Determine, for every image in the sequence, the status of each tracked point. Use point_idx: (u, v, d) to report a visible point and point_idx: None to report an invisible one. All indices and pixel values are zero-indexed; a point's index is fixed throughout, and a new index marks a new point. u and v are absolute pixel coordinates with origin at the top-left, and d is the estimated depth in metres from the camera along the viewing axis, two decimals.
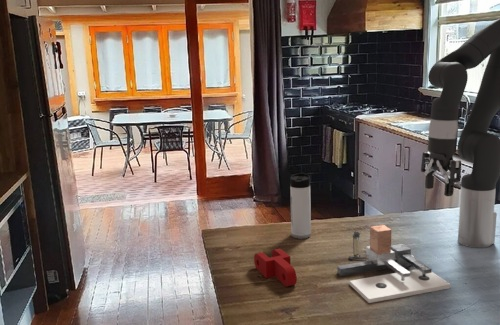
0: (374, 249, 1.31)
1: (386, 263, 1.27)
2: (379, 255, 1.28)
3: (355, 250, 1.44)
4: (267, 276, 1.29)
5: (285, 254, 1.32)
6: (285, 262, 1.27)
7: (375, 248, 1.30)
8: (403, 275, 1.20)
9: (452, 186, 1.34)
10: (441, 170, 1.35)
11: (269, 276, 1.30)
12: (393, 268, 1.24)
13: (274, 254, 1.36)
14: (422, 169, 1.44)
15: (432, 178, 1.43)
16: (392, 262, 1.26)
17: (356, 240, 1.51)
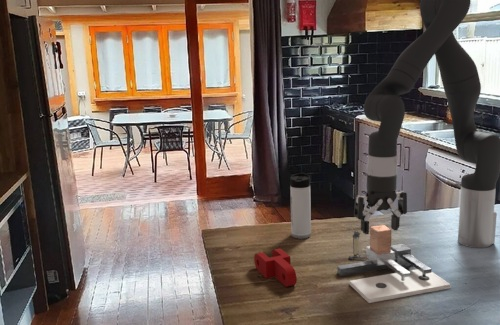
0: (374, 249, 1.31)
1: (386, 263, 1.27)
2: (379, 255, 1.28)
3: (355, 250, 1.44)
4: (267, 276, 1.29)
5: (285, 254, 1.32)
6: (285, 263, 1.27)
7: (375, 248, 1.30)
8: (403, 275, 1.20)
9: None
10: (394, 206, 1.28)
11: (269, 276, 1.29)
12: (393, 268, 1.24)
13: (274, 254, 1.36)
14: (360, 216, 1.27)
15: None
16: (392, 262, 1.26)
17: (356, 240, 1.51)
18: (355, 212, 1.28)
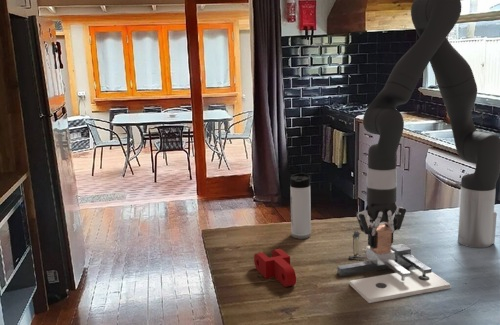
0: (374, 249, 1.31)
1: (386, 263, 1.27)
2: (379, 255, 1.28)
3: (355, 250, 1.44)
4: (267, 276, 1.29)
5: (285, 254, 1.32)
6: (284, 263, 1.27)
7: (375, 248, 1.30)
8: (403, 275, 1.20)
9: None
10: (391, 220, 1.29)
11: (269, 276, 1.29)
12: (393, 268, 1.24)
13: (274, 254, 1.36)
14: (367, 231, 1.28)
15: None
16: (392, 262, 1.26)
17: (356, 240, 1.51)
18: (361, 228, 1.30)
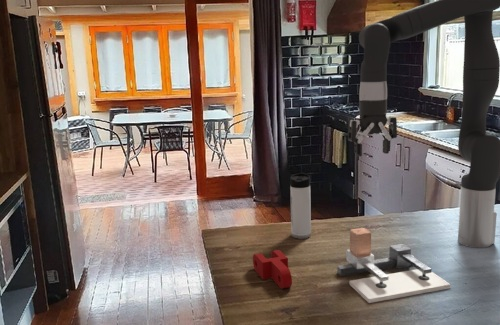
0: (354, 252, 1.29)
1: (365, 266, 1.26)
2: (358, 258, 1.27)
3: None
4: (264, 277, 1.29)
5: (283, 256, 1.31)
6: (281, 264, 1.26)
7: (355, 251, 1.28)
8: (381, 279, 1.19)
9: None
10: (385, 129, 1.39)
11: (266, 277, 1.29)
12: (372, 272, 1.22)
13: (272, 255, 1.36)
14: (354, 139, 1.37)
15: None
16: (371, 266, 1.25)
17: None
18: (349, 136, 1.39)
